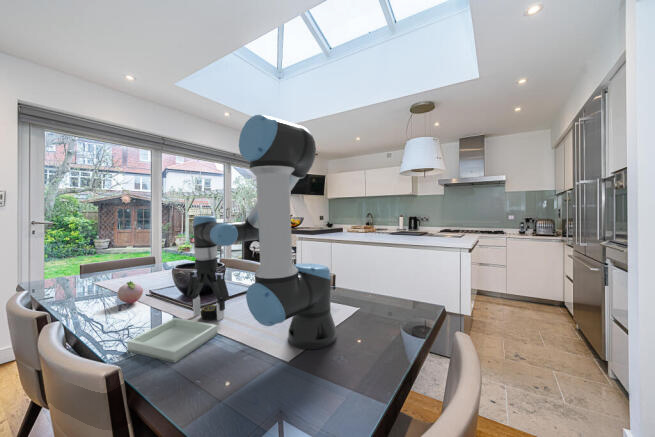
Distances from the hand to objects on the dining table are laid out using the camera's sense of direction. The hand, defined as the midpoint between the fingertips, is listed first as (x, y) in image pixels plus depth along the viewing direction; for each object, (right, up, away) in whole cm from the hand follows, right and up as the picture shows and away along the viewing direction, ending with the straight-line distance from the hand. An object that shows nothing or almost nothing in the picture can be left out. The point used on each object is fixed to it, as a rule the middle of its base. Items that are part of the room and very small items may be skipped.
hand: (208, 316), depth 98 cm
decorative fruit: (-39, 0, +13) cm, 41 cm away
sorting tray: (-3, -1, -17) cm, 17 cm away
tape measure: (+1, 0, +1) cm, 2 cm away
